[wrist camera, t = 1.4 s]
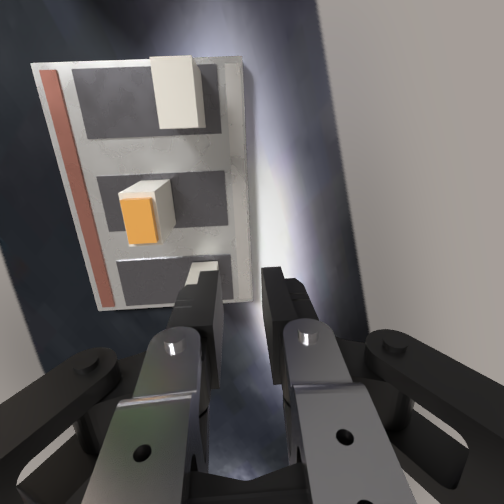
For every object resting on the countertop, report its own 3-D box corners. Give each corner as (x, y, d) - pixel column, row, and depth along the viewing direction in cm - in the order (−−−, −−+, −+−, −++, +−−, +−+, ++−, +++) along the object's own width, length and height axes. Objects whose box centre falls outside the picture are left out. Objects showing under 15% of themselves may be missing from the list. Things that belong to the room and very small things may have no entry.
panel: (45, 68, 25) (28, 62, 23) (241, 61, 25) (242, 55, 23) (106, 300, 33) (97, 312, 31) (252, 291, 33) (253, 302, 31)
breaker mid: (140, 180, 26) (114, 194, 20) (169, 179, 26) (152, 193, 20) (148, 224, 28) (126, 249, 22) (176, 223, 28) (161, 247, 22)
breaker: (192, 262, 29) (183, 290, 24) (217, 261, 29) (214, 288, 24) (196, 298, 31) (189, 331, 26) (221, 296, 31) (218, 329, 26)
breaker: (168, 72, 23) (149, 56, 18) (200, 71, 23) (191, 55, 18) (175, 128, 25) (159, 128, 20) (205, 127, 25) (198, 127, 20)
